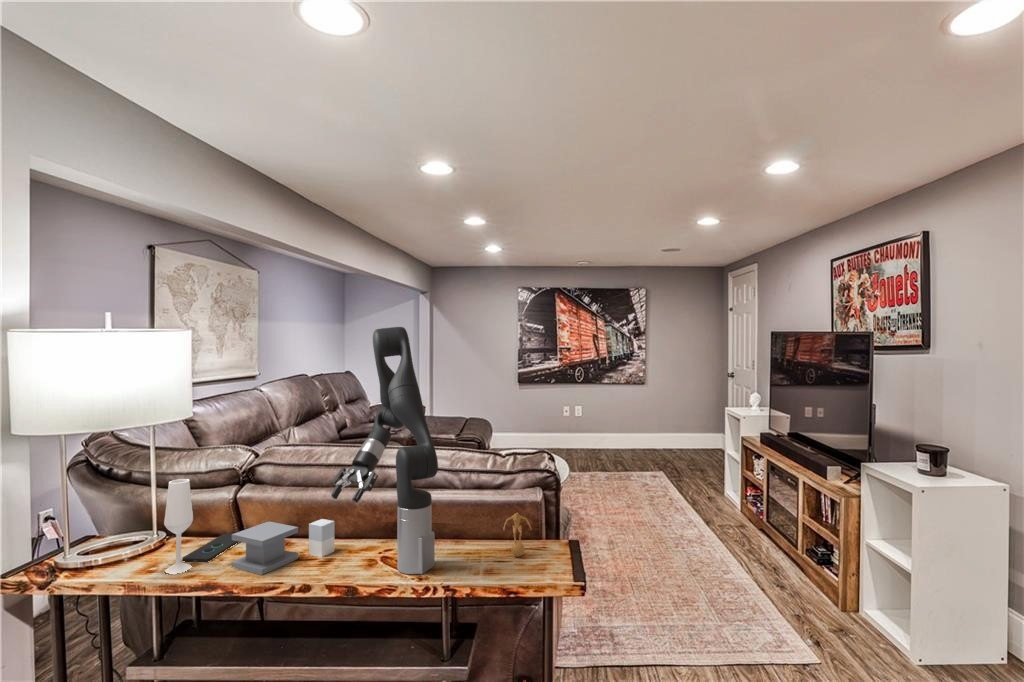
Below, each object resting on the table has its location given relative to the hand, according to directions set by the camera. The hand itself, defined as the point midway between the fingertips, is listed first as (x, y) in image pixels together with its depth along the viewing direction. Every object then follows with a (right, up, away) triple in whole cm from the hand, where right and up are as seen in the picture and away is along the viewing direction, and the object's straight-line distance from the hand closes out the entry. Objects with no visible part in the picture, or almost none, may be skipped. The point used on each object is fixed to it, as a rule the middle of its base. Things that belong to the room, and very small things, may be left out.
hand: (343, 499), depth 161 cm
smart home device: (-37, -14, -5) cm, 40 cm away
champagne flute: (-39, -13, -20) cm, 45 cm away
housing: (-4, -13, -8) cm, 16 cm away
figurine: (+54, -13, -10) cm, 56 cm away
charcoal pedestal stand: (-17, -13, -15) cm, 26 cm away
